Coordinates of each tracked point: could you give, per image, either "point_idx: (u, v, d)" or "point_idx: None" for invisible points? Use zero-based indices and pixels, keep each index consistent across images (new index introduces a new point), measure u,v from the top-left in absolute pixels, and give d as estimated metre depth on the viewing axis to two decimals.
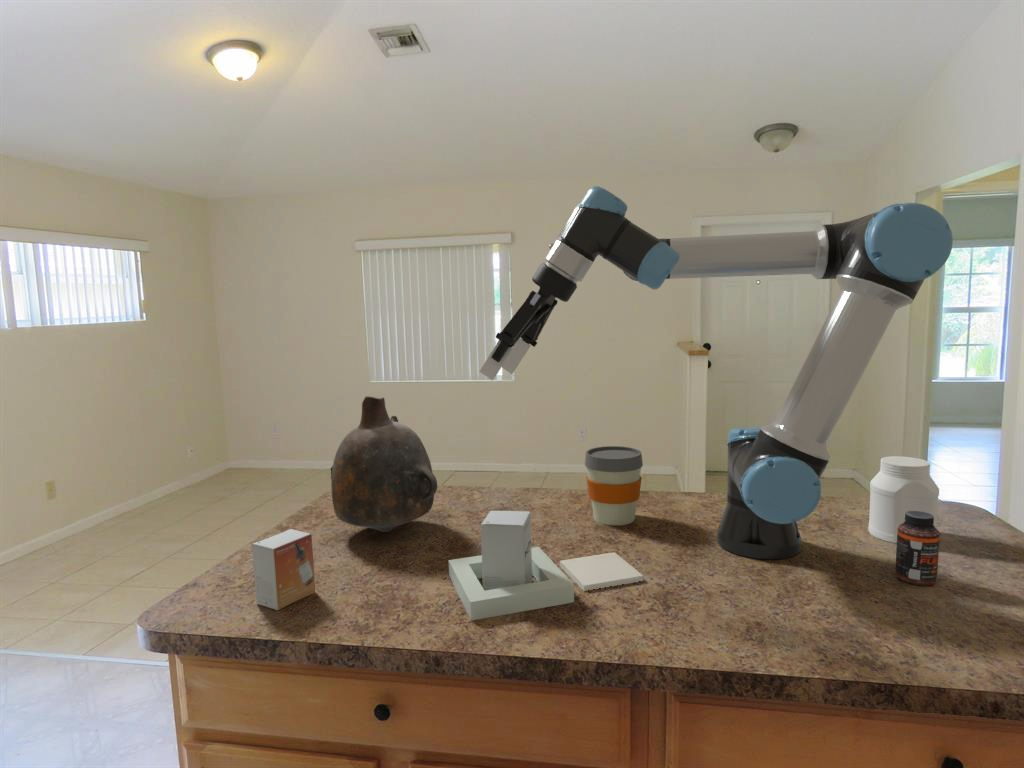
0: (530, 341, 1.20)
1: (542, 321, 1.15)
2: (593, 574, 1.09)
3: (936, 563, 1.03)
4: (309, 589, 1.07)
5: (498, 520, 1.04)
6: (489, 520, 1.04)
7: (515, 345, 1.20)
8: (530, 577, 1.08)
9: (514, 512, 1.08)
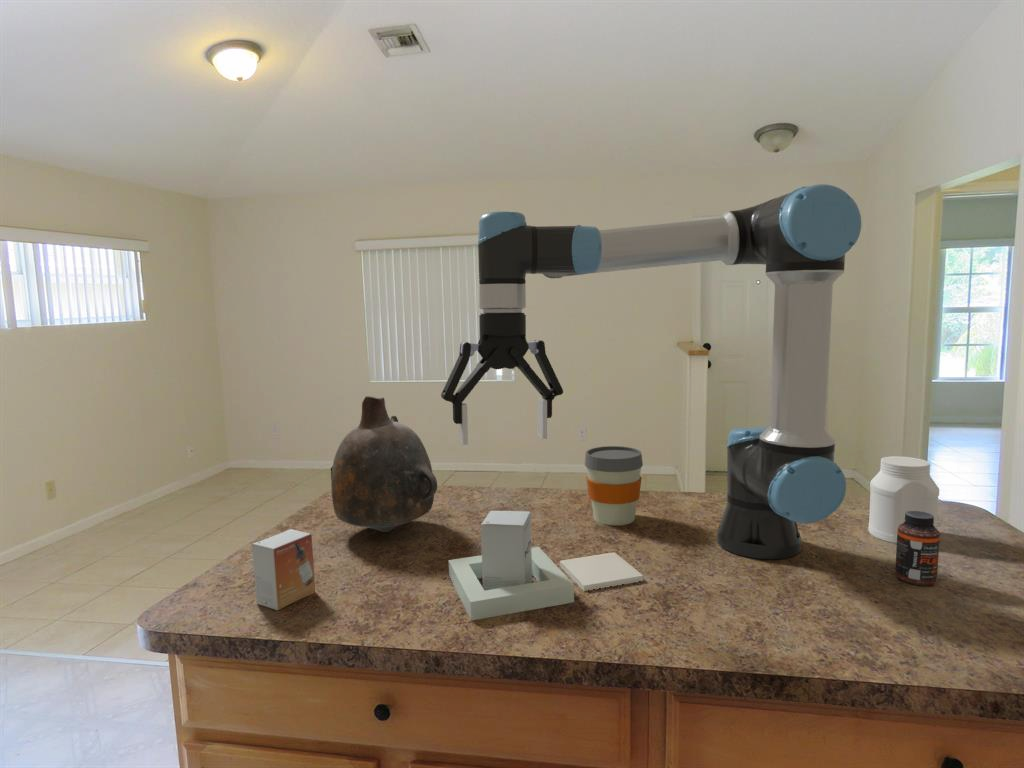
0: (545, 396, 1.05)
1: (522, 368, 1.03)
2: (593, 574, 1.09)
3: (936, 563, 1.03)
4: (309, 589, 1.07)
5: (498, 520, 1.04)
6: (489, 520, 1.04)
7: (537, 407, 1.07)
8: (530, 577, 1.08)
9: (514, 512, 1.08)
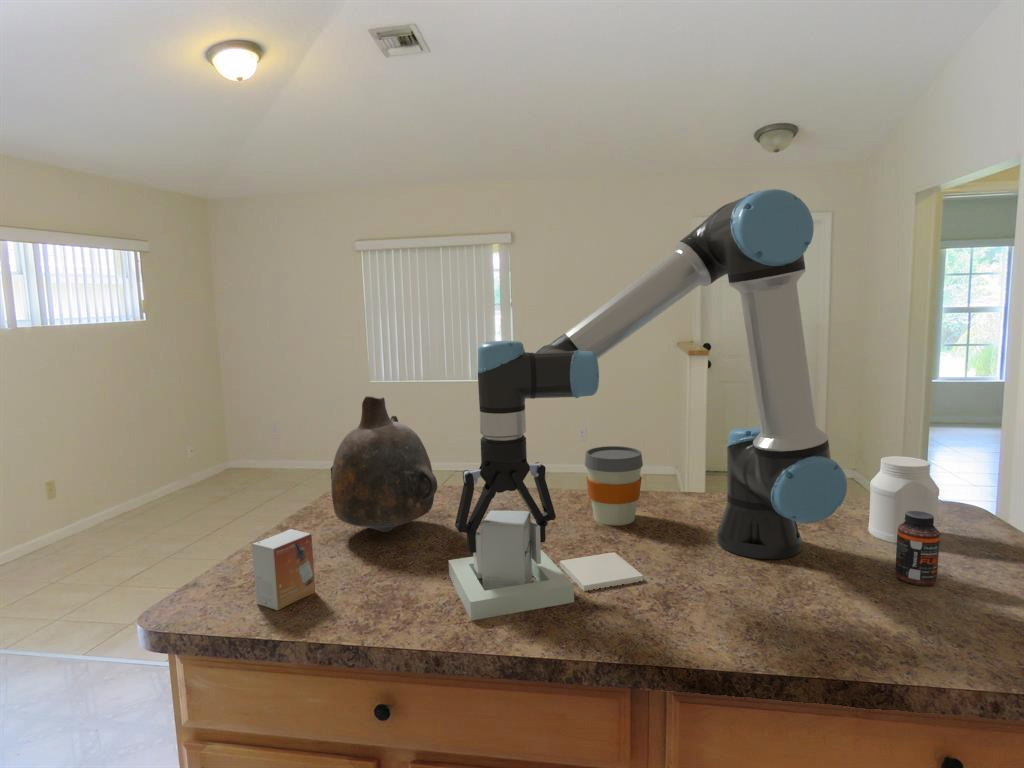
0: (538, 521, 1.07)
1: (520, 491, 1.04)
2: (593, 574, 1.09)
3: (936, 563, 1.03)
4: (309, 589, 1.07)
5: (497, 520, 1.04)
6: (488, 520, 1.04)
7: (531, 531, 1.08)
8: (530, 577, 1.08)
9: (514, 512, 1.08)
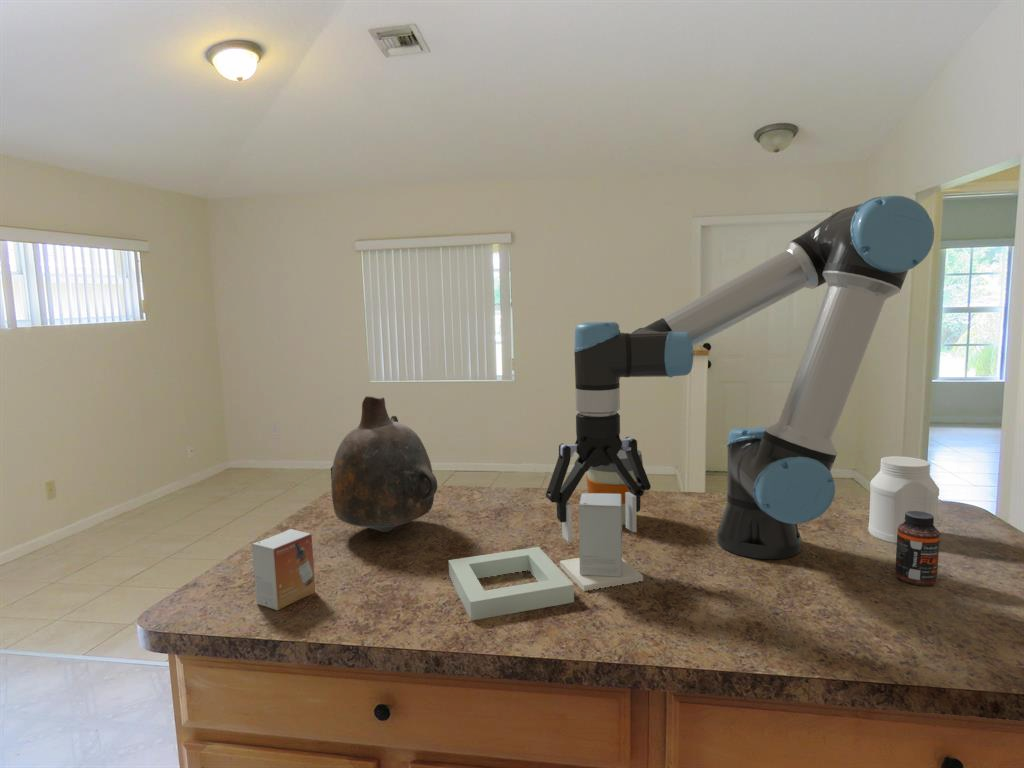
0: (634, 491, 1.11)
1: (616, 465, 1.09)
2: None
3: (936, 563, 1.03)
4: (309, 589, 1.07)
5: (594, 501, 1.09)
6: (585, 501, 1.09)
7: (626, 501, 1.13)
8: None
9: (606, 494, 1.13)
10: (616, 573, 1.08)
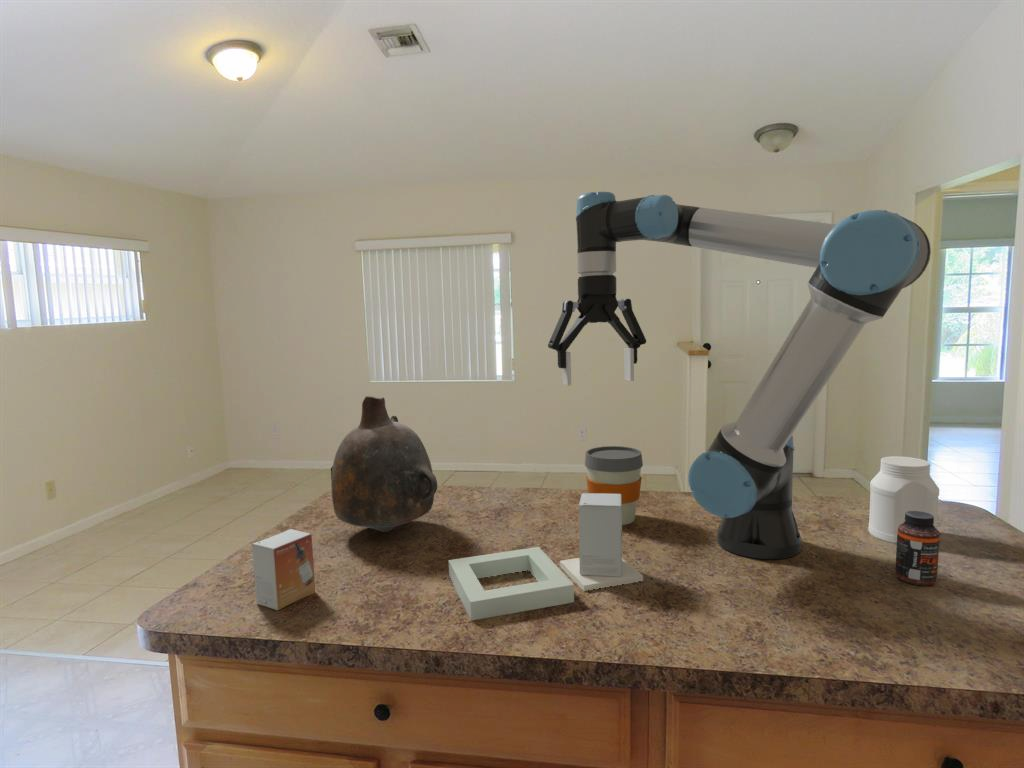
0: (631, 345, 1.27)
1: (613, 321, 1.25)
2: None
3: (936, 563, 1.03)
4: (309, 589, 1.07)
5: (594, 501, 1.09)
6: (585, 501, 1.09)
7: (624, 355, 1.29)
8: None
9: (606, 494, 1.13)
10: (616, 573, 1.08)
